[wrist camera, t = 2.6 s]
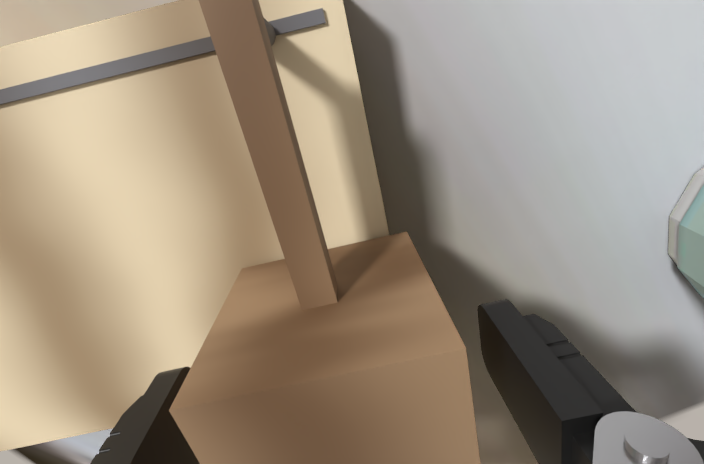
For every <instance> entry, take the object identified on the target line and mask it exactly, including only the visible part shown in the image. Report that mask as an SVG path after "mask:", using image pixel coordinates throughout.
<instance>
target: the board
mask: <svg viewBox="0 0 704 464" xmlns="http://www.w3.org/2000/svg"><path fill="white" fill-rule="evenodd" d="M259 4H260V7H261V11H262V14H263V17H264V18H265V19H266V20H267V21H268V22H269V23H270V24H271V25H272V26H273V28H274V30H275V34H276V38H275V42H274V44H273V45H272V46H271V47H272V50H273V54H274V58H275V61H276V65H277V68H278V72H279V76H280V79H281V83H282V86H283V90H284V94H285V97H286V101H287V104H288V108H289V112H290V115H291V119H292V122H293V126H294V130H295V133H296V137H297V140H298V144H299V148H300V151H301V155H302V158H303V162H304V166H305V169H306V173H307V176H308V180H309V184H310V187H311V191H312V194H313V198H314V202H315V205H316V209H317V212H318V216H319V220H320V223H321V227H322V230H323V234H324V238H325V241H326V245H327V248H328V249H330V248H335V247H339V246H344V245H348V244H353V243H357V242H362V241H366V240H371V239H375V238H379V237H384V236H388V235H389V230H388V225H387V220H386V215H385V210H384V205H383V200H382V195H381V190H380V185H379V180H378V175H377V170H376V165H375V160H374V155H373V150H372V145H371V140H370V134H369V129H368V124H367V119H366V114H365V109H364V104H363V99H362V94H361V89H360V84H359V79H358V74H357V69H356V64H355V59H354V54H353V49H352V44H351V39H350V34H349V29H348V24H347V19H346V14H345V9H344V4H343V0H259ZM281 259H285V258H284V255H283V252H282V249H281V246H280V243H279V240H278V237H277V234H276V231H275V228H274V225H273V222H272V219H271V216H270V213H269V210H268V207H267V204H266V201H265V198H264V195H263V192H262V189H261V186H260V183H259V180H258V177H257V174H256V171H255V168H254V165H253V162H252V159H251V156H250V153H249V150H248V147H247V144H246V141H245V138H244V135H243V132H242V129H241V126H240V123H239V120H238V117H237V114H236V111H235V108H234V105H233V102H232V99H231V96H230V93H229V90H228V87H227V84H226V81H225V78H224V75H223V72H222V69H221V66H220V63H219V60H218V57H217V54H216V51H215V48H214V45H213V42H212V39H211V36H210V33H209V30H208V27H207V24H206V21H205V18H204V15H203V12H202V9H201V6H200V3H199V0H179V1H175V2H171V3H167V4H164V5H160V6H156V7H152V8H148V9H144V10H140V11H136V12H133V13H129V14H125V15H121V16H117V17H113V18H109V19H105V20H102V21H98V22H94V23H90V24H86V25H82V26H78V27H74V28H71V29H67V30H63V31H59V32H55V33H51V34H47V35H44V36H40V37H36V38H32V39H28V40H24V41H20V42H16V43H13V44H9V45H5V46H1V47H0V451H5V450H10V449H15V448H20V447H24V446H29V445H34V444H39V443H44V442H48V441H53V440H58V439H63V438H68V437H72V436H77V435H82V434H87V433H92V432H96V431H101V430H106V429H111V428H114V427H115V425H116V424H117V422H118V421H119V419H120V417H121V416H122V414H123V413H124V412H125V411H126V410H127V409H128V408H129V407H130V406H131V405H132V404H133V403H134V402H135V401H136V400H137V399H138V398H139V397H140V396H143V395H144V394H145V392H146V390H147V389H148V387H149V386H150V384H151V382H152V381H153V379H154V378H155V376H156V375H157V374H158V373H160V372H164V371H168V370H173V369H178V368H182V367H190V368H191V366H192V364H193V362H194V361H195V359H196V357H197V355H198V353H199V351H200V349H201V347H202V345H203V343H204V341H205V339H206V337H207V335H208V333H209V331H210V329H211V327H212V325H213V324H214V322H215V320H216V318H217V316H218V314H219V312H220V310H221V308H222V306H223V304H224V302H225V300H226V298H227V296H228V294H229V292H230V290H231V288H232V287H233V285H234V283H235V281H236V279H237V277H238V275H239V273H240V271H241V269H242V268H246V267H250V266H255V265H259V264H264V263H268V262H272V261H277V260H281Z"/></svg>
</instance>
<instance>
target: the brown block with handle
mask: <svg viewBox="0 0 704 464" xmlns="http://www.w3.org/2000/svg"><path fill="white" fill-rule="evenodd" d="M199 3H200V6H201V9H202V12H203V15H204V18H205V21H206V24H207V27H208V30H209V33H210V36H211V39H212V42H213V45H214V48H215V51H216V54H217V57H218V60H219V63H220V66H221V69H222V72H223V75H224V78H225V81H226V84H227V87H228V90H229V93H230V96H231V99H232V102H233V105H234V108H235V111H236V114H237V117H238V120H239V123H240V126H241V129H242V132H243V135H244V138H245V141H246V144H247V147H248V150H249V153H250V156H251V159H252V162H253V165H254V168H255V171H256V174H257V177H258V180H259V183H260V186H261V189H262V192H263V195H264V198H265V201H266V204H267V207H268V210H269V213H270V216H271V219H272V222H273V225H274V228H275V231H276V234H277V237H278V240H279V243H280V246H281V249H282V252H283V255H284V258H285V259H281V260H277V261H272V262H268V263H264V264H259V265H255V266H250V267H246V268H242V269H241V271H240V273H239V275H238V277H237V279H236V281H235V283H234V285H233V287H232V288H231V290H230V292H229V294H228V296H227V298H226V300H225V302H224V304H223V306H222V308H221V310H220V312H219V314H218V316H217V318H216V320H215V322H214V324H213V325H212V327H211V329H210V331H209V333H208V335H207V337H206V339H205V341H204V343H203V345H202V347H201V349H200V351H199V353H198V355H197V357H196V359H195V361H194V362H193V364H192V366H191V368H190V370H189V372H188V374H187V376H186V378H185V380H184V382H183V384H182V386H181V388H180V390H179V392H178V394H177V396H176V398H175V399H174V401H173V403H172V405H171V407H170V409H169V412H170V413H171V415H172V417H173V418H174V420H175V422H176V424H177V425H178V427H179V429H180V430H181V432H182V434H183V436H184V437H185V439H186V441H187V442H188V444H189V446H190V447H191V449H192V451H193V453H194V454H195V456H196V458H197V459H198V461H199V463H200V464H480V456H479V448H478V440H477V432H476V424H475V416H474V408H473V400H472V392H471V384H470V376H469V368H468V360H467V351H466V347H465V345H464V343H463V341H462V339H461V337H460V335H459V333H458V331H457V329H456V327H455V325H454V323H453V321H452V320H451V318H450V316H449V314H448V312H447V310H446V308H445V306H444V304H443V302H442V300H441V298H440V296H439V294H438V292H437V290H436V288H435V286H434V284H433V282H432V280H431V278H430V276H429V274H428V272H427V270H426V268H425V266H424V264H423V262H422V260H421V258H420V256H419V254H418V252H417V250H416V249H415V247H414V245H413V243H412V241H411V239H410V237H409V235H408V233H407V231H406V232H402V233H397V234H393V235H388V236H384V237H379V238H375V239H371V240H366V241H362V242H357V243H353V244H348V245H344V246H339V247H335V248H330V249H328V248H327V245H326V241H325V238H324V234H323V230H322V227H321V223H320V220H319V216H318V212H317V209H316V205H315V202H314V198H313V194H312V191H311V187H310V184H309V180H308V176H307V173H306V169H305V166H304V162H303V158H302V155H301V151H300V148H299V144H298V140H297V137H296V133H295V130H294V126H293V122H292V119H291V115H290V112H289V108H288V104H287V101H286V97H285V94H284V90H283V86H282V83H281V79H280V76H279V72H278V68H277V65H276V61H275V58H274V54H273V50H272V47H271V46H272V45H273V44H274V42H275V38H276V34H275V30H274V28H273V26H272V25H271V24H270V23H269V22H268V21H267V20H266V19H265V18H264V17H263V14H262V11H261V7H260V4H259V0H199Z"/></svg>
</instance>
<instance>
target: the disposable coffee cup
mask: <svg viewBox="0 0 704 464" xmlns="http://www.w3.org/2000/svg"><path fill="white" fill-rule="evenodd" d="M668 254H669V256H670V257H671V258H672V259H673V261H674V262H675V263H676V264H677V268H678V269H679V270H680V271H681V273H682V274H683V275H684V276H685V277H686V279H687V280H688V281H689V282H690V284H691V285H692V286H693V287H694V288H695V290H696V291H697V292H698V293H699V295H700V296H702V297H703V298H704V167H703V168H702V169H700V170H699V171H698V172H696V173H695V174H694V176H693V177H692V179H691V181H690V182H689V184H688V186H687V187H686V189H685V191H684V193H683V194H682V196H681V198H680V199H679V201H678V203H677V204H676V206H675V208H674V209H673V211H672V213H671V214H670V216H669V241H668Z"/></svg>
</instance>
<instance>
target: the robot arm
mask: <svg viewBox="0 0 704 464" xmlns="http://www.w3.org/2000/svg"><path fill="white" fill-rule="evenodd" d="M478 320H479V330H480V339H481V349H482V355H483V359H484V362H485V365H486V368H487V370H488V372H489V374H490V376H491V378H492V380H493V382H494V383H495V385H496V387H497V389H498V391H499V392H500V394H501V396H502V398H503V400H504V401H505V403H506V405H507V407H508V409H509V411H510V412H511V414H512V416H513V418H514V420H515V421H516V423H517V425H518V427H519V429H520V431H521V432H522V434H523V436H524V438H525V440H526V441H527V443H528V445H529V447H530V449H531V451H532V452H533V454H534V456H535V458H536V460H537V461H538V463H539V464H704V441H699V440H693V439H689V438H686V437H685V436H684V435H683V434H681V433H680V432H679V431H678V430H676V429H675V428H673V427H672V426H670V425H668V424H667V423H665V422H663V421H661V420H659V419H656V418H654V417H651V416H648V415H645V414H641V413H637V412H636V411H635V410H634V409H633V408H632V407H631V406H630V405H629V404H628V403H627V402H626V401H625V400H624V399H623V398H622V397H621V396H620V395H619V394H618V392H617V391H616V390H615V389H614V388H613V387H612V386H611V385H610V384H609V383H608V382H607V381H606V380H605V379H604V378H603V377H602V375H601V374H600V373H599V372H598V371H597V370H596V369H595V368H594V367H593V366H592V365H591V364H590V363H589V362H588V361H587V360H586V358H585V357H584V356H581V355H580V352H579V351H578V350H577V349H576V348H575V347H574V346H573V345H572V344H571V343H569V342H568V339H567V338H566V337H565V336H564V335H563V334H562V333H561V332H560V331H559V330H558V329H557V328H556V327H555V326H554V325H553V324H551V323H550V322H548V321H546V320H544V319H542V318H540V317H539V316H537V315H535V314H531V315H526V316H522V315H521V314H520V312H519V311H518V310H517V309H516V308H515V307H514V305H513V304H512V303H511V302H510V301H509V300H507V299H505V300H500V301H495V302H491V303H486V304H481V305H479V306H478ZM189 370H190V367H182V368H178V369H173V370H168V371H164V372H160V373H158V374H157V375H156V376H155V378H154V379H153V381H152V382H151V384H150V386H149V387H148V389H147V390H146V392H145V394H144V395H143V396H140V397H139V398H138V399H137V400H136V401H135V402H134V403H133V404H132V405H131V406H130V407H129V408H128V409H127V410H126V411H125V412H124V413H123V414H122V416H121V417H120V419H119V421H118V422H117V424H116V425H115V427H114V428H113V430H112V431H111V433H110V437H108V438H107V439H106V440H105V442H104V444H103V445H102V447H101V448H100V450H99V451H100V452H99V454H97V455H96V456H95V457H94V459H93V460H92V462H91V464H200V463H199V461H198V459H197V458H196V456H195V454H194V453H193V451H192V449H191V447H190V446H189V444H188V442H187V441H186V439H185V437H184V436H183V434H182V432H181V430H180V429H179V427H178V425H177V424H176V422H175V420H174V418H173V417H172V415H171V413H170V412H169V409H170V407H171V405H172V403H173V401H174V399H175V398H176V396H177V394H178V392H179V390H180V388H181V386H182V384H183V382H184V380H185V378H186V376H187V374H188V372H189Z"/></svg>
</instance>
